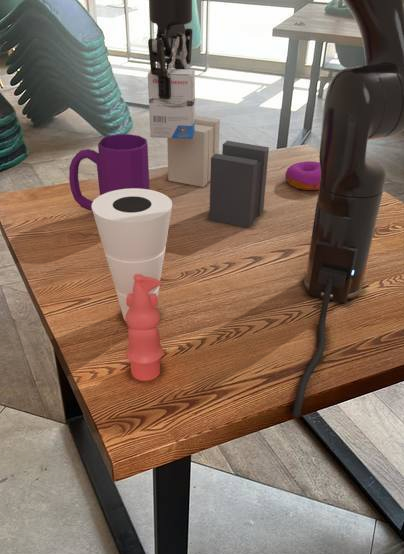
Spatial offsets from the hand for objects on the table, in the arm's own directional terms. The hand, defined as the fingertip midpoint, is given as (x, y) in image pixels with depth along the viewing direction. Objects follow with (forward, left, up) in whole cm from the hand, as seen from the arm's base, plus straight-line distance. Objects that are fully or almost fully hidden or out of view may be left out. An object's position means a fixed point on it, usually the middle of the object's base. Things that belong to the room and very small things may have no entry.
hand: (172, 94), depth 110 cm
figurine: (-54, -22, -20) cm, 62 cm away
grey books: (-4, -16, -20) cm, 26 cm away
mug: (-15, +6, -20) cm, 26 cm away
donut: (+18, -25, -20) cm, 37 cm away
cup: (-43, -15, -20) cm, 50 cm away
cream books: (+11, 0, -20) cm, 23 cm away
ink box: (0, 0, -8) cm, 8 cm away
